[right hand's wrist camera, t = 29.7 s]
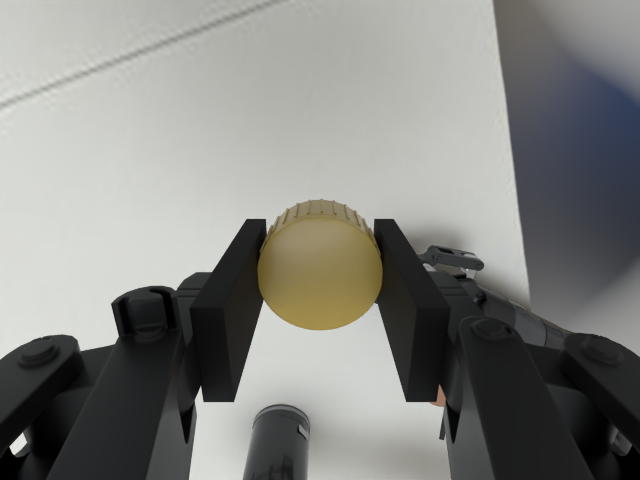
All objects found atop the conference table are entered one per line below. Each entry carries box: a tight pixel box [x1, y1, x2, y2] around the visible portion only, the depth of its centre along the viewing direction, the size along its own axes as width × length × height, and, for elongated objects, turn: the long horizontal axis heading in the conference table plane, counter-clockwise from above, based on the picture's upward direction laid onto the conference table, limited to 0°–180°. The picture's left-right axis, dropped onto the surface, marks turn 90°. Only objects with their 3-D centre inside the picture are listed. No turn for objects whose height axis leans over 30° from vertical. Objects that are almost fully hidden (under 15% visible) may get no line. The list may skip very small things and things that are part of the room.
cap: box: [257, 199, 383, 330], centre depth 13 cm, size 4×4×2 cm
